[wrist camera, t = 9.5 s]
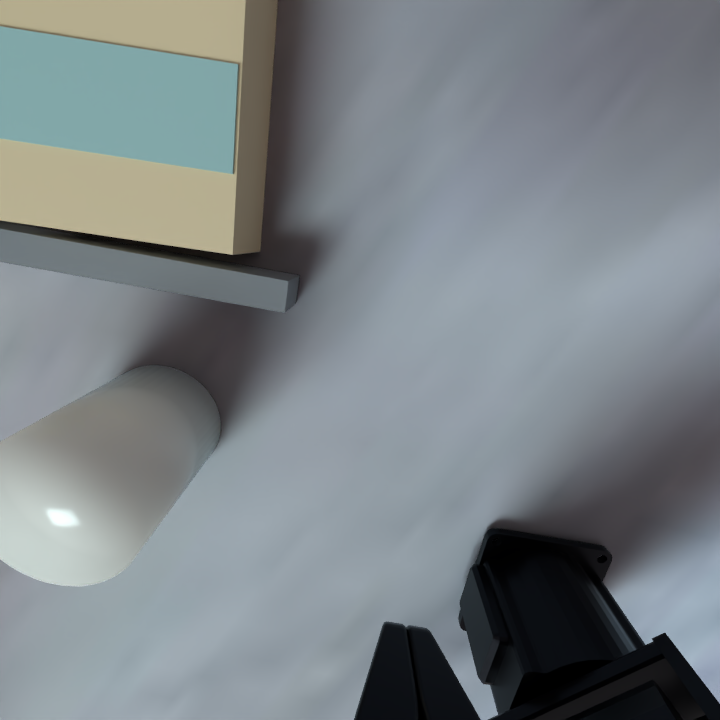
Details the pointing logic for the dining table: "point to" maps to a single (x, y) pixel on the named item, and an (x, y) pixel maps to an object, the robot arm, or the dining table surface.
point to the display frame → (147, 267)
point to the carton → (138, 118)
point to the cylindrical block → (102, 475)
